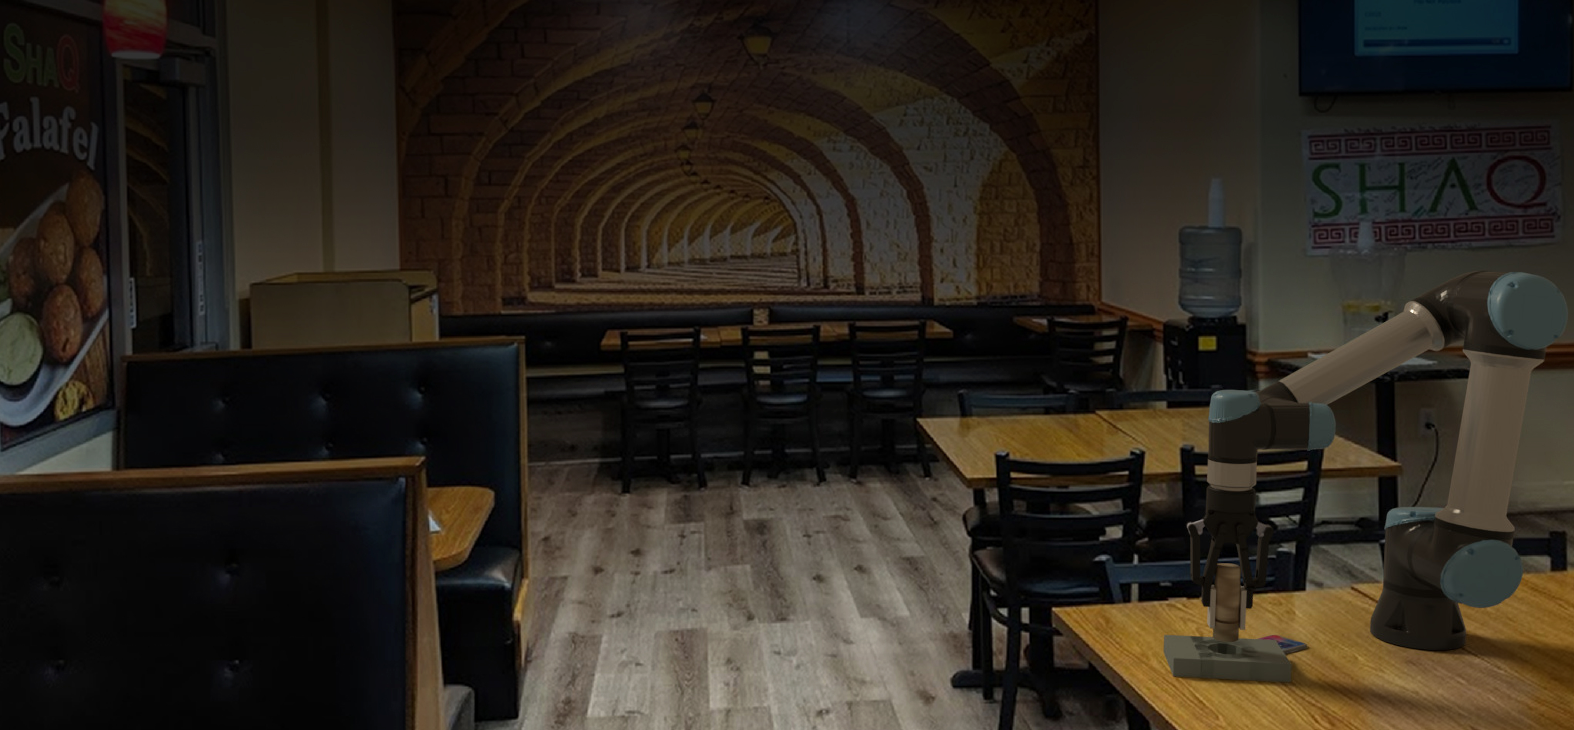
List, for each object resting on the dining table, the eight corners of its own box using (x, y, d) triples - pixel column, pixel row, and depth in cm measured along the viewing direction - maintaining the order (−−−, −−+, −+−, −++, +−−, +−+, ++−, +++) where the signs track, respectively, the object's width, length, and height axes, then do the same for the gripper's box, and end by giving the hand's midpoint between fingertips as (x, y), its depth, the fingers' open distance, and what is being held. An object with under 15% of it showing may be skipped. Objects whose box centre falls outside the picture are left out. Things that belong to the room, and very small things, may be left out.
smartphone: (1216, 648, 217) (1273, 633, 224) (1216, 653, 217) (1273, 638, 225) (1252, 659, 210) (1310, 643, 218) (1252, 665, 210) (1310, 649, 218)
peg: (1236, 634, 210) (1238, 563, 209) (1240, 642, 206) (1243, 570, 205) (1210, 633, 211) (1212, 562, 210) (1214, 641, 207) (1216, 569, 205)
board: (1274, 657, 213) (1275, 639, 213) (1290, 682, 202) (1291, 663, 201) (1163, 651, 216) (1164, 634, 216) (1173, 676, 204) (1173, 658, 204)
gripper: (1281, 483, 208) (1275, 622, 210) (1173, 479, 211) (1168, 617, 213) (1292, 492, 201) (1285, 636, 203) (1179, 488, 203) (1175, 630, 206)
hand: (1226, 626), depth 208 cm, fingers closed on peg, 4 cm apart
